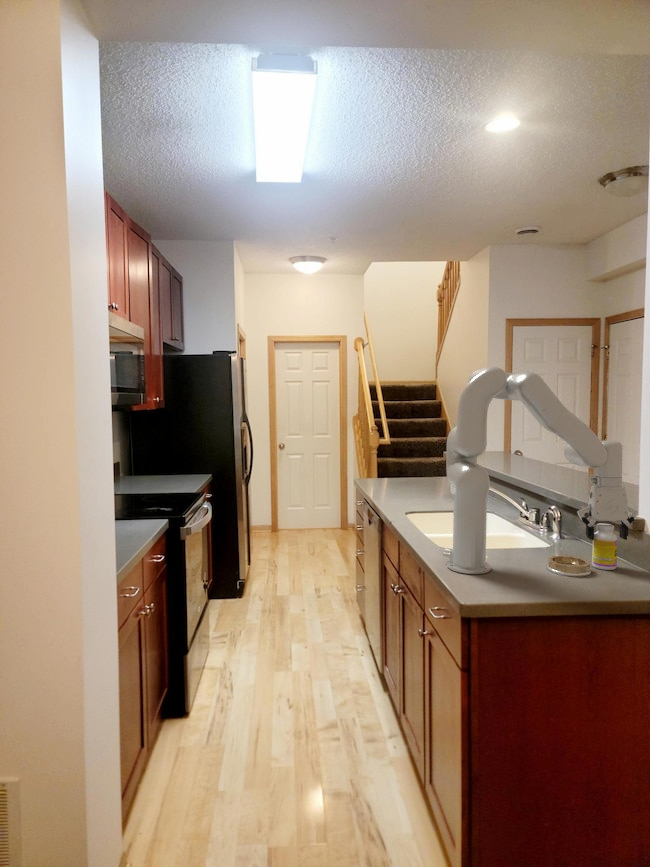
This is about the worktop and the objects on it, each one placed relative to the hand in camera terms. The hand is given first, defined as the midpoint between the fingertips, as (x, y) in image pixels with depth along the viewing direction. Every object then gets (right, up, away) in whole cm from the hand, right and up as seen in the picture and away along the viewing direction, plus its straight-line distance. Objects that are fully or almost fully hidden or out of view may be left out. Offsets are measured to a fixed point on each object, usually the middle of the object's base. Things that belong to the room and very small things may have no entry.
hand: (606, 538), depth 164 cm
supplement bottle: (-1, -9, 0) cm, 9 cm away
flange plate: (-13, -9, -3) cm, 16 cm away
